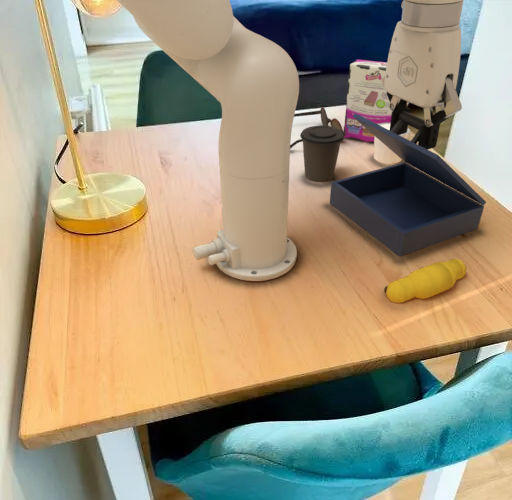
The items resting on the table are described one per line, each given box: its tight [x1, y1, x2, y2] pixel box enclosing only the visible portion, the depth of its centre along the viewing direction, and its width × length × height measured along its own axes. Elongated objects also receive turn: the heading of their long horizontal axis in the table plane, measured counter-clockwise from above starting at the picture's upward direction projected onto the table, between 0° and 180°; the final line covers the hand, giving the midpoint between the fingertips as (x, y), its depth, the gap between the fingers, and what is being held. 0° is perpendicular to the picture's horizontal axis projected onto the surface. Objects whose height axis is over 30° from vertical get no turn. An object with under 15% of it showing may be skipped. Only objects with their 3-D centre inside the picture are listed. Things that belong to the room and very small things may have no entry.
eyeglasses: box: [290, 106, 346, 150], centre depth 114 cm, size 15×15×5 cm
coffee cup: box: [299, 125, 345, 183], centre depth 96 cm, size 8×8×10 cm
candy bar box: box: [343, 59, 392, 144], centre depth 110 cm, size 11×5×16 cm, turn 62°
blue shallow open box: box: [329, 161, 485, 258], centre depth 85 cm, size 16×18×5 cm
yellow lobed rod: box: [384, 258, 467, 304], centre depth 69 cm, size 14×4×4 cm, turn 118°
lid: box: [353, 111, 487, 206], centre depth 80 cm, size 17×18×5 cm
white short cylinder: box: [373, 123, 411, 165], centre depth 103 cm, size 7×7×7 cm
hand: (412, 140), depth 78 cm, fingers closed on lid, 5 cm apart
